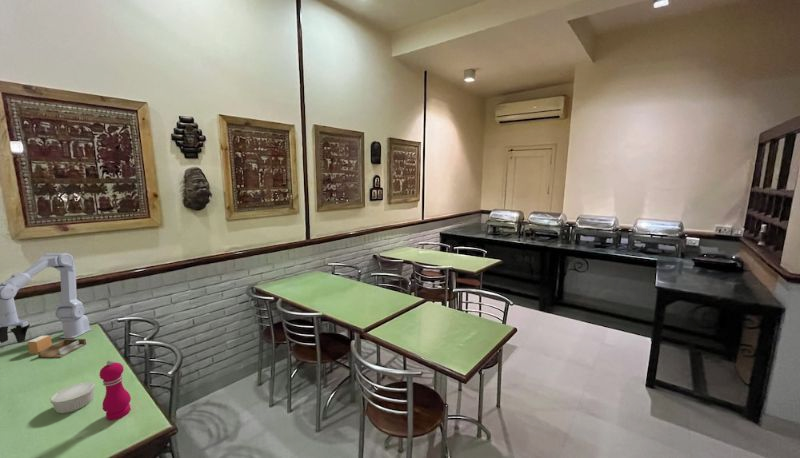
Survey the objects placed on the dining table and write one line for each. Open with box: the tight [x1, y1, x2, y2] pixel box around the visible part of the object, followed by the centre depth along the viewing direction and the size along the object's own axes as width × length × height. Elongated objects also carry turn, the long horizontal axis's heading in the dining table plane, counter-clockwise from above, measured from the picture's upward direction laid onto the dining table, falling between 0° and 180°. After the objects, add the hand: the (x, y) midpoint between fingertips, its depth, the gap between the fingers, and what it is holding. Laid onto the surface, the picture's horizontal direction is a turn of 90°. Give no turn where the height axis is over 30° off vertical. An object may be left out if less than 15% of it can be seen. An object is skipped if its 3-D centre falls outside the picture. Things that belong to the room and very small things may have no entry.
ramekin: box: [49, 381, 96, 414], centre depth 114 cm, size 11×11×5 cm
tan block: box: [27, 335, 53, 355], centre depth 151 cm, size 6×4×6 cm
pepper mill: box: [99, 359, 132, 421], centre depth 108 cm, size 7×7×20 cm
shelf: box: [37, 338, 87, 359], centre depth 151 cm, size 12×10×3 cm
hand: (12, 341), depth 141 cm, fingers open, 7 cm apart
